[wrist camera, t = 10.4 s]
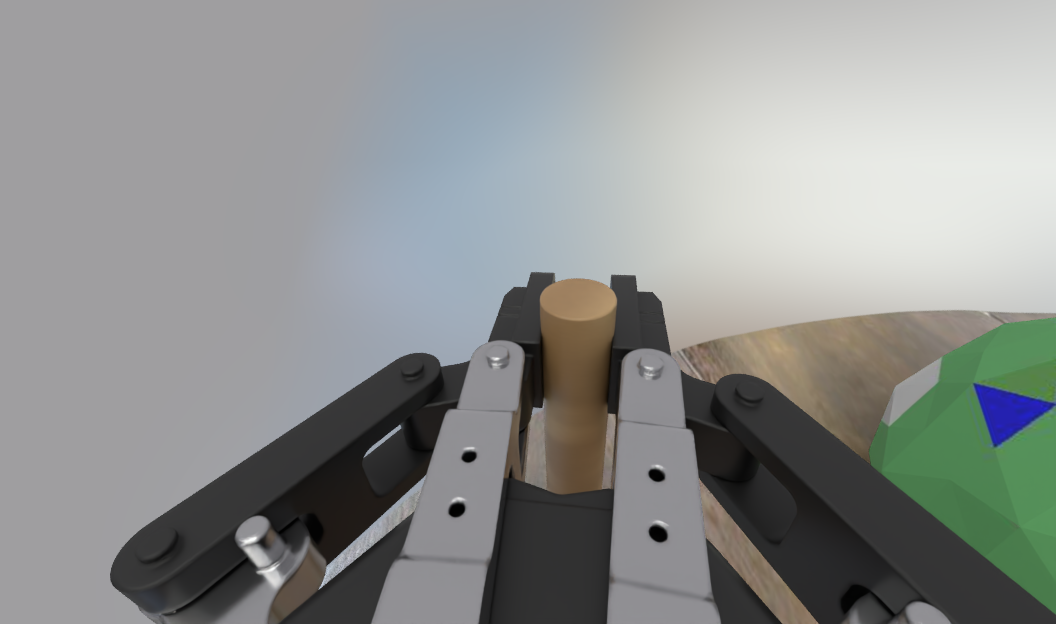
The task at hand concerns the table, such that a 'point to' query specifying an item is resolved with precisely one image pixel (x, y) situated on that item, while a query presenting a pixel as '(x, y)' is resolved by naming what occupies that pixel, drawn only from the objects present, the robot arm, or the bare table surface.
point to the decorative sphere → (984, 448)
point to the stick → (576, 381)
